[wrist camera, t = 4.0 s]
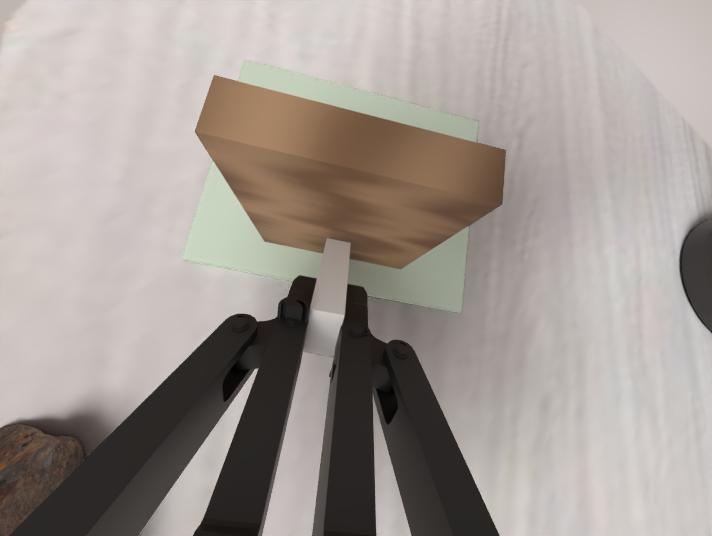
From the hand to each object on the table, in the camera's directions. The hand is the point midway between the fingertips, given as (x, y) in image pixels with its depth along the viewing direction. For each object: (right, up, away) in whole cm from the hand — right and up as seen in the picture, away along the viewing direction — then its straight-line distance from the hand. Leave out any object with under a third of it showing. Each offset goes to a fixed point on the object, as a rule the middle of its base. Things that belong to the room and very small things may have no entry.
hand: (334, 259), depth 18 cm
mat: (+1, +7, +9) cm, 11 cm away
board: (0, +2, +7) cm, 7 cm away
